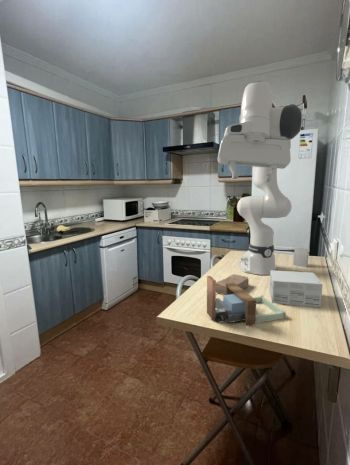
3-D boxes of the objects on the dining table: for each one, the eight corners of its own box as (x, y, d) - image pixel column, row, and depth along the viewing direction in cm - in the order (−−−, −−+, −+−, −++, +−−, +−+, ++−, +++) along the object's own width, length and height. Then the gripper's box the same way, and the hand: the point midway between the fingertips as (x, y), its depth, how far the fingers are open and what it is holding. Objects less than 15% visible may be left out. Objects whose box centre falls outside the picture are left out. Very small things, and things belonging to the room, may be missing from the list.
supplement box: (312, 293, 106) (313, 272, 105) (321, 308, 94) (323, 283, 92) (268, 290, 111) (269, 269, 109) (271, 303, 98) (273, 280, 96)
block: (223, 310, 93) (223, 295, 92) (243, 308, 95) (243, 292, 93) (231, 320, 86) (232, 303, 85) (253, 317, 88) (253, 301, 87)
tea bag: (306, 267, 140) (307, 249, 138) (293, 265, 144) (294, 248, 142) (307, 265, 142) (309, 248, 141) (294, 263, 146) (295, 246, 145)
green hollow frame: (236, 303, 98) (236, 299, 97) (262, 300, 100) (262, 295, 100) (256, 322, 84) (256, 316, 84) (285, 318, 87) (285, 312, 86)
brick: (232, 281, 121) (232, 272, 120) (249, 286, 116) (249, 276, 115) (214, 293, 109) (214, 282, 108) (231, 298, 103) (232, 287, 102)
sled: (203, 308, 93) (204, 273, 91) (238, 304, 96) (239, 269, 94) (215, 324, 82) (216, 284, 80) (253, 318, 86) (255, 280, 83)
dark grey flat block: (208, 312, 91) (208, 311, 91) (216, 311, 92) (216, 310, 92) (216, 322, 85) (216, 321, 85) (224, 321, 85) (224, 320, 85)
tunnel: (225, 303, 98) (225, 282, 96) (232, 302, 99) (233, 282, 97) (246, 326, 82) (247, 301, 81) (255, 324, 83) (256, 300, 81)
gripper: (286, 142, 77) (284, 186, 75) (218, 137, 79) (215, 180, 77) (295, 131, 71) (293, 178, 69) (221, 126, 73) (217, 172, 71)
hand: (251, 179), depth 73 cm, fingers open, 8 cm apart
